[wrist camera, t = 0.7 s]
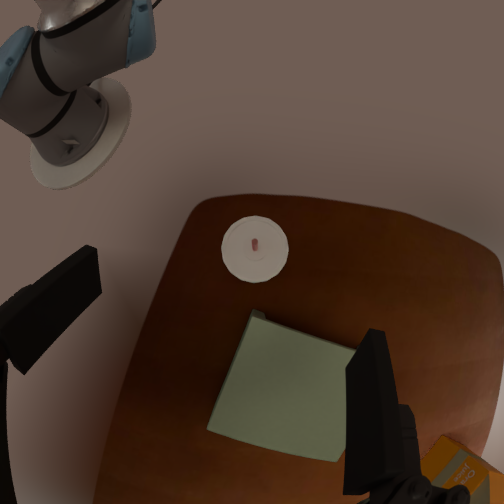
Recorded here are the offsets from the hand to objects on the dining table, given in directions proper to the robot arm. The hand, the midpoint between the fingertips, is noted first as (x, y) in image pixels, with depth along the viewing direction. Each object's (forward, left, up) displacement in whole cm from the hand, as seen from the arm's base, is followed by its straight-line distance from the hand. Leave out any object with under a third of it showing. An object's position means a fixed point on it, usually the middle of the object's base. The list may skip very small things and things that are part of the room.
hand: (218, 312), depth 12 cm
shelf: (+9, +10, -22) cm, 26 cm away
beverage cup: (-4, 0, -22) cm, 23 cm away
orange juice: (+18, +44, -22) cm, 52 cm away
